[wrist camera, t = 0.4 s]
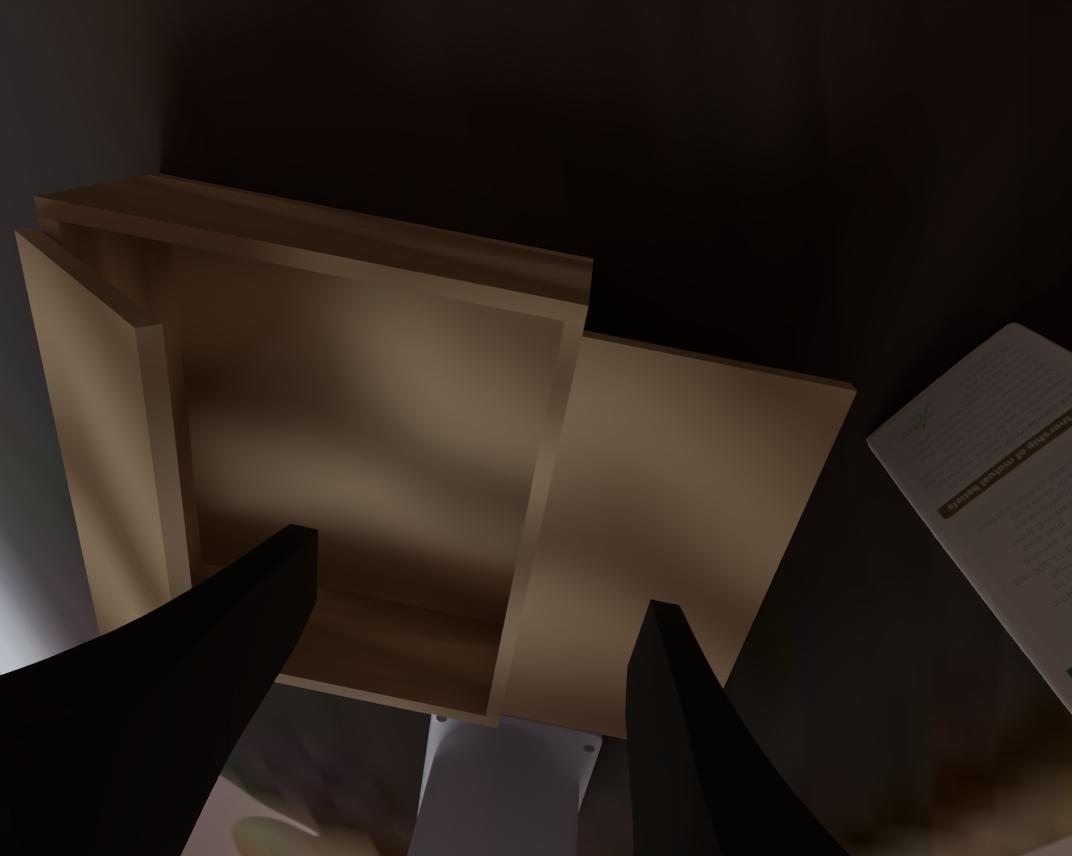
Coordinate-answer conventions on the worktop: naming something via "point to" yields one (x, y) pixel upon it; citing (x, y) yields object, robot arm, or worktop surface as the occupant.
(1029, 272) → the worktop surface
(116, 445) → the carton flap
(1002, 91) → the worktop surface
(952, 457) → the syrup box
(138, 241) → the carton
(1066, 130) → the worktop surface
